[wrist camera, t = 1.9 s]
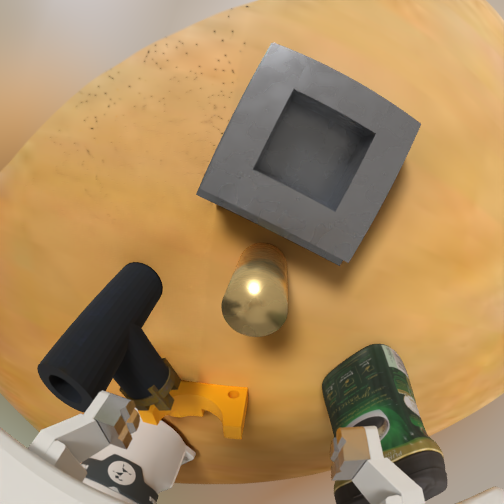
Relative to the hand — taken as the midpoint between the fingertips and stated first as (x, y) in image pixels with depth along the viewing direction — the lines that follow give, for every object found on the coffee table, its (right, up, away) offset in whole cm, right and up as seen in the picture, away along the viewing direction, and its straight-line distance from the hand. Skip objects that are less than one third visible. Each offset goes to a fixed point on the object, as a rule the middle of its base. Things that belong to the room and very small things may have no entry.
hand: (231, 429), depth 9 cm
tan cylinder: (+2, +6, +17) cm, 18 cm away
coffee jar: (+14, -7, +20) cm, 25 cm away
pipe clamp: (-6, -11, +24) cm, 27 cm away
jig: (+6, +15, +13) cm, 21 cm away
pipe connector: (-10, +1, +20) cm, 22 cm away
